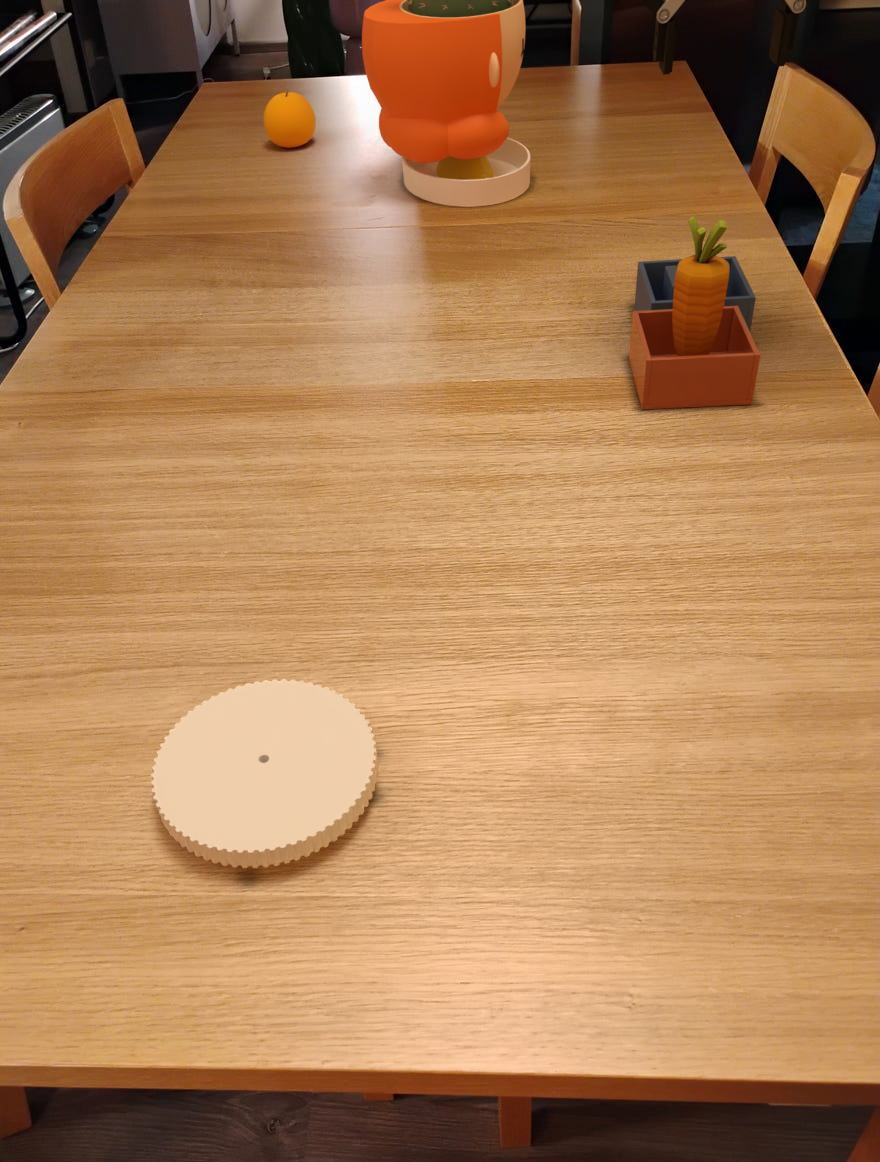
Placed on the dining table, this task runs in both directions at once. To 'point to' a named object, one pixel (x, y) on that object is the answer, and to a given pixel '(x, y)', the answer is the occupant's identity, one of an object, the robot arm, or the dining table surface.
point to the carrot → (700, 293)
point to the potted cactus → (449, 95)
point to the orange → (289, 120)
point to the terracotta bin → (692, 363)
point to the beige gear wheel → (265, 773)
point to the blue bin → (651, 299)
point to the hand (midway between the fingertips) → (720, 66)
